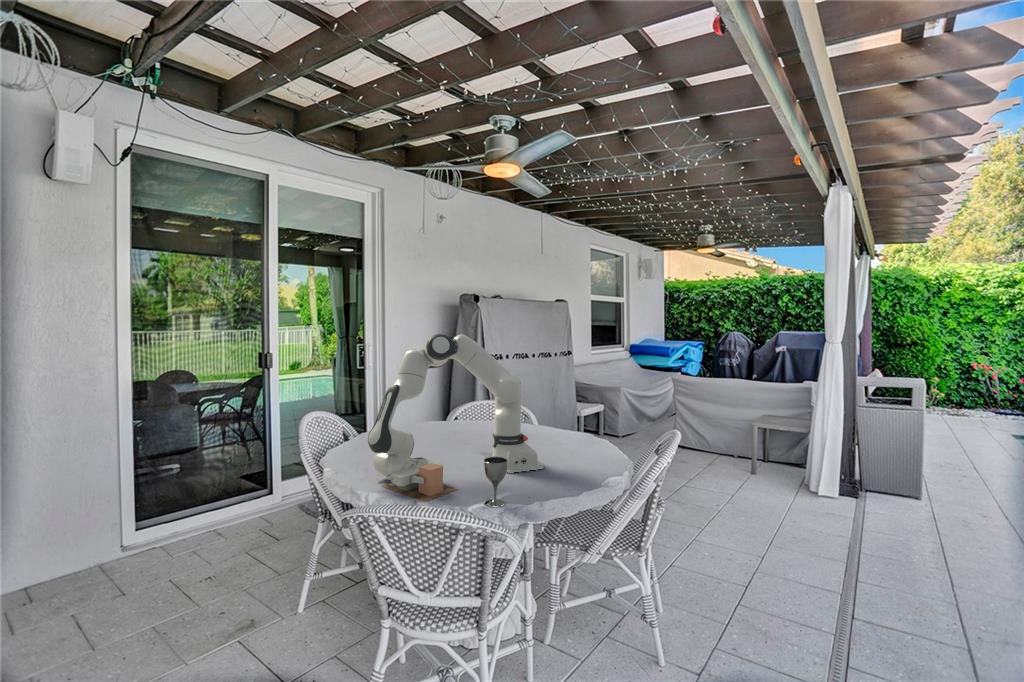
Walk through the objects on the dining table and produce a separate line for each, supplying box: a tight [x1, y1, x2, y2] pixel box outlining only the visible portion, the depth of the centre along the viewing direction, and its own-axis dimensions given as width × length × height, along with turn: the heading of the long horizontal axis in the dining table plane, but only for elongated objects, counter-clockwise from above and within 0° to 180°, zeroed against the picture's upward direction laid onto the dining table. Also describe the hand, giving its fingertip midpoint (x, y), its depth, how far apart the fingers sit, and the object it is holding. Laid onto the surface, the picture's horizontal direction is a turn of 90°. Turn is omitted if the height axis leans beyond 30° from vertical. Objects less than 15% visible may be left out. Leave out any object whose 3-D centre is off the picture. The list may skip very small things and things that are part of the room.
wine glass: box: [483, 456, 508, 506], centre depth 174 cm, size 8×8×15 cm
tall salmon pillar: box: [418, 463, 444, 496], centre depth 182 cm, size 6×6×9 cm
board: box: [380, 482, 459, 503], centre depth 186 cm, size 24×16×1 cm, turn 52°
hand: (432, 478), depth 181 cm, fingers closed on tall salmon pillar, 6 cm apart
